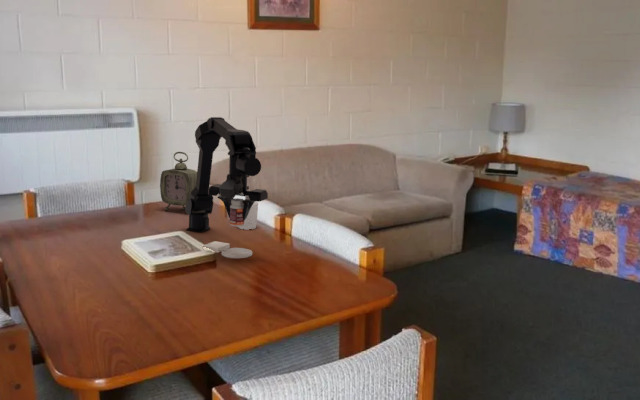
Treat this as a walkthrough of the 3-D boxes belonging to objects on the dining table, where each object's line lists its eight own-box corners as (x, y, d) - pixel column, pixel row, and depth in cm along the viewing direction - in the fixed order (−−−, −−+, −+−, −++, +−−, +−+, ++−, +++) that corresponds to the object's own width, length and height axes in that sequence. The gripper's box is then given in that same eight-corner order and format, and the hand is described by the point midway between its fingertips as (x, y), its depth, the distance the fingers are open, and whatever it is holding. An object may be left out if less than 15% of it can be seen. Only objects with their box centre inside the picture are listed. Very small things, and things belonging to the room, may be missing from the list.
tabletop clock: (160, 211, 251) (159, 151, 246) (173, 207, 259) (173, 149, 254) (189, 215, 246) (190, 154, 241) (202, 211, 254) (202, 152, 249)
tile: (214, 246, 207) (202, 250, 200) (214, 241, 206) (202, 245, 200) (229, 248, 204) (217, 253, 198) (229, 243, 204) (217, 248, 198)
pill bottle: (238, 227, 192) (238, 201, 190) (226, 225, 195) (227, 199, 193) (247, 224, 196) (248, 199, 194) (236, 222, 199) (236, 197, 197)
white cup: (259, 226, 235) (260, 200, 233) (255, 231, 227) (255, 205, 225) (239, 224, 235) (239, 199, 233) (234, 229, 228) (235, 203, 226)
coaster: (215, 255, 195) (215, 253, 194) (230, 247, 204) (230, 246, 204) (243, 260, 191) (243, 258, 191) (257, 252, 200) (257, 250, 200)
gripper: (199, 171, 188) (198, 220, 191) (253, 177, 181) (251, 228, 184) (217, 166, 198) (216, 213, 201) (269, 172, 192) (267, 220, 195)
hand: (237, 218), depth 195 cm, fingers closed on pill bottle, 5 cm apart
